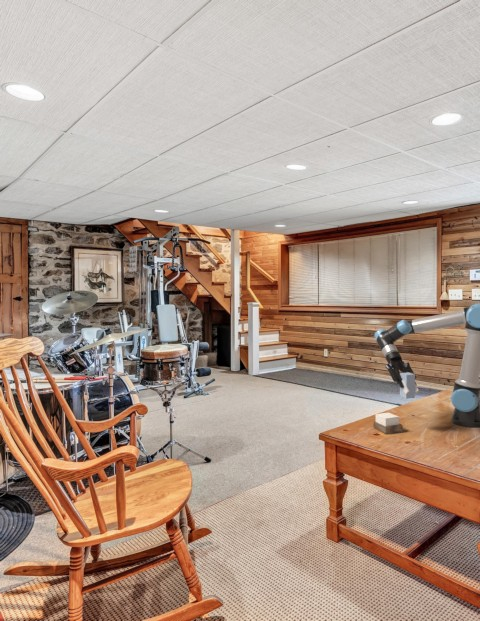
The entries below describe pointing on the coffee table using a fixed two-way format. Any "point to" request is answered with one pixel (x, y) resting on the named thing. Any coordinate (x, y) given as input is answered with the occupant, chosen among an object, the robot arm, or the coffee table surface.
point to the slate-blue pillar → (408, 385)
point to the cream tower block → (387, 419)
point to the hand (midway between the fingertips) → (412, 392)
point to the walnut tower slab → (388, 428)
